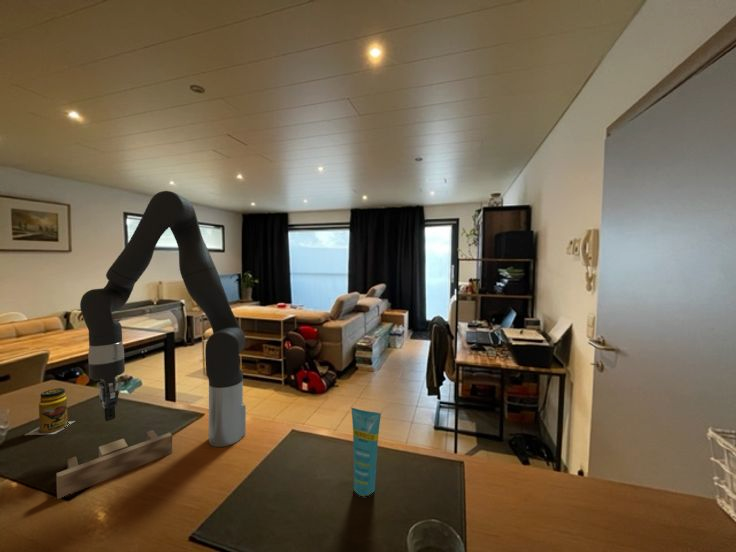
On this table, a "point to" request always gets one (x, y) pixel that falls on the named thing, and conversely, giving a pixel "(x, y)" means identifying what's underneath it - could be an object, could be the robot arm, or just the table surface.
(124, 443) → the block
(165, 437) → the wooden plank
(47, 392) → the condiment
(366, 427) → the tube
